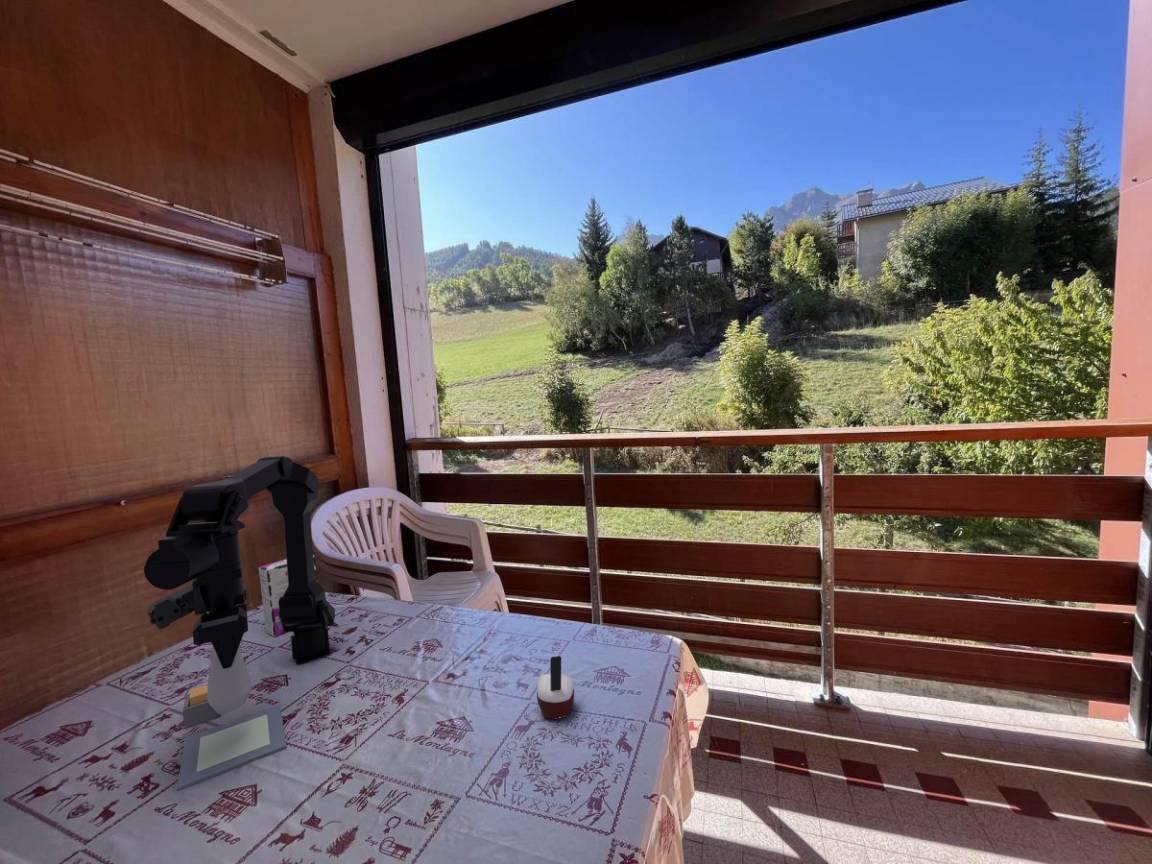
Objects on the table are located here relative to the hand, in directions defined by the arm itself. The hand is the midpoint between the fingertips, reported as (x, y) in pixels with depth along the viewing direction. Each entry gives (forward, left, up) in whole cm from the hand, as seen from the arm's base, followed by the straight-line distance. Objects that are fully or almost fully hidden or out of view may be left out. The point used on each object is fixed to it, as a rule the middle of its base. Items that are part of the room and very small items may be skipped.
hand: (227, 662), depth 74 cm
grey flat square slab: (0, 0, -13) cm, 13 cm away
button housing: (+5, -12, -13) cm, 19 cm away
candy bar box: (-11, -42, -13) cm, 46 cm away
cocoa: (-43, +27, -13) cm, 53 cm away
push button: (+5, -12, -11) cm, 17 cm away
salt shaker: (0, 0, -7) cm, 7 cm away
